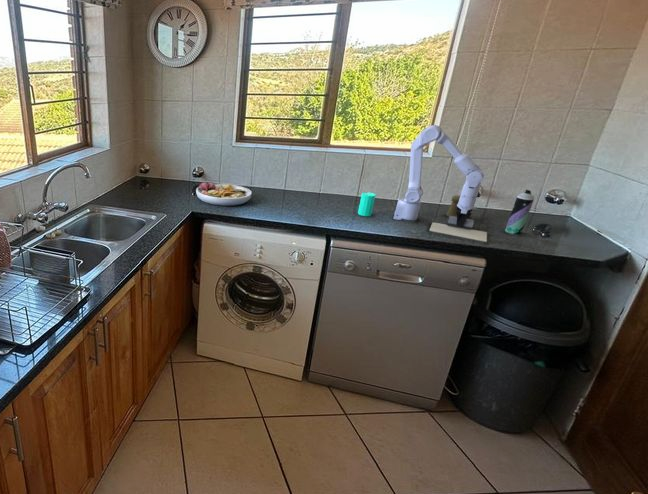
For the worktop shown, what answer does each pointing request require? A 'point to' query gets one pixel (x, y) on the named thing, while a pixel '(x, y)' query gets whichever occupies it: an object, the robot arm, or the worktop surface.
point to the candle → (366, 204)
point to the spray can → (520, 212)
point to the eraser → (467, 225)
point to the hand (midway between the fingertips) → (459, 224)
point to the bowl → (223, 194)
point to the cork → (453, 206)
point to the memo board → (459, 232)
